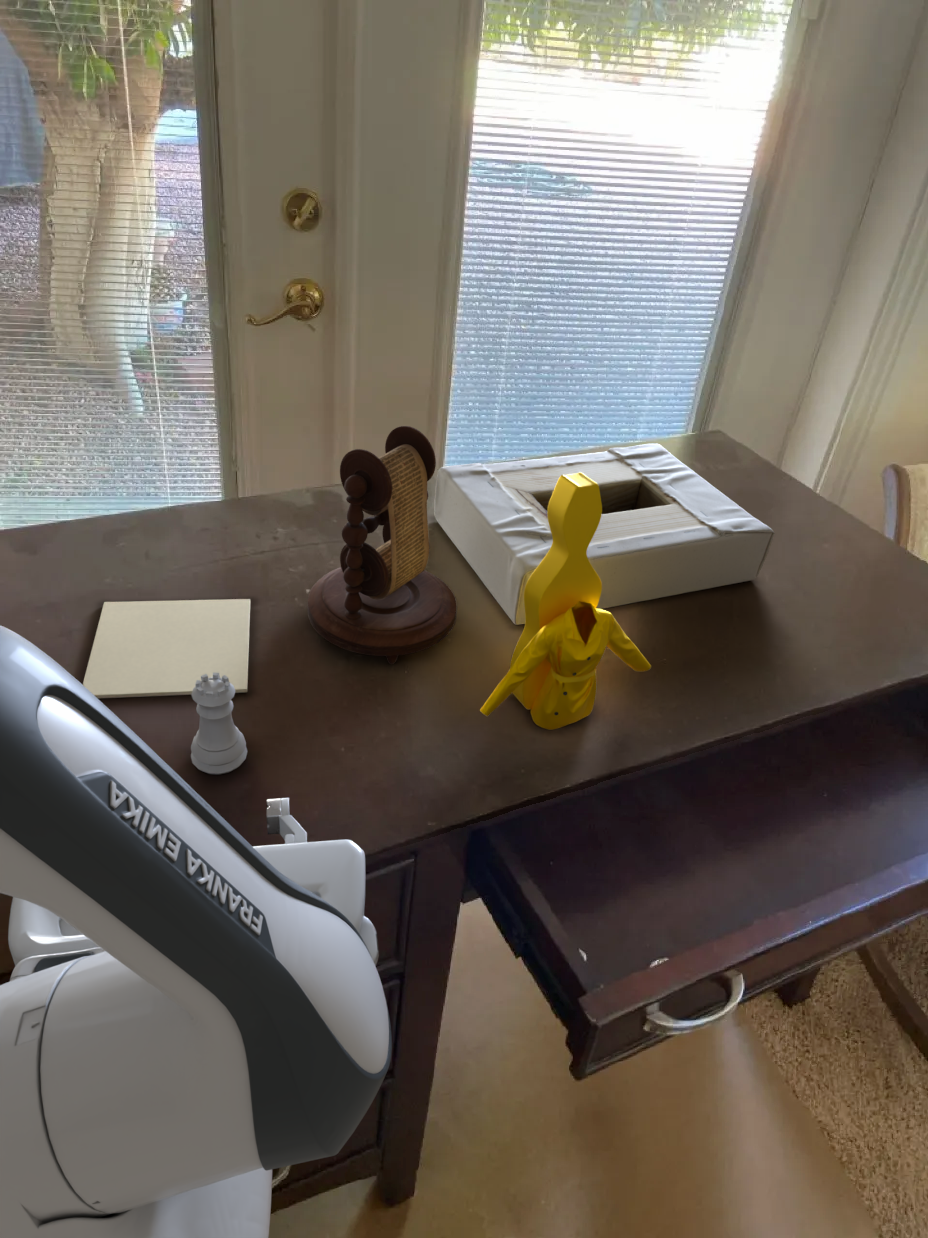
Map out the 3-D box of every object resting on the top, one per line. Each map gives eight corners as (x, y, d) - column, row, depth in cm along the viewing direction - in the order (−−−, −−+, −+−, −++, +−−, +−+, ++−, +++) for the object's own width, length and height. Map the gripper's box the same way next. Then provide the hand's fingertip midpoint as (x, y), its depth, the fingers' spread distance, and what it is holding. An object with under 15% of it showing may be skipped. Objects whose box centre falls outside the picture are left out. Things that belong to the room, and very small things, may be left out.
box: (515, 632, 90) (761, 581, 102) (524, 568, 86) (780, 522, 98) (428, 523, 107) (648, 490, 119) (432, 465, 103) (660, 437, 115)
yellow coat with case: (488, 757, 75) (522, 534, 62) (447, 700, 81) (470, 484, 68) (654, 706, 83) (716, 498, 70) (607, 657, 88) (655, 455, 75)
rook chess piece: (235, 782, 70) (228, 707, 66) (181, 771, 71) (171, 695, 66) (256, 744, 74) (251, 670, 69) (205, 734, 74) (197, 659, 70)
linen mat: (80, 699, 76) (79, 695, 76) (104, 605, 87) (104, 601, 87) (247, 692, 79) (247, 689, 79) (250, 601, 90) (250, 598, 90)
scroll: (397, 689, 81) (409, 495, 70) (276, 627, 87) (268, 439, 75) (482, 616, 92) (504, 437, 80) (368, 565, 98) (374, 391, 86)
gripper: (384, 950, 48) (364, 766, 59) (-27, 991, 44) (33, 785, 55) (380, 1014, 52) (362, 829, 63) (1, 1057, 48) (52, 852, 59)
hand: (205, 809), depth 59 cm, fingers open, 8 cm apart
